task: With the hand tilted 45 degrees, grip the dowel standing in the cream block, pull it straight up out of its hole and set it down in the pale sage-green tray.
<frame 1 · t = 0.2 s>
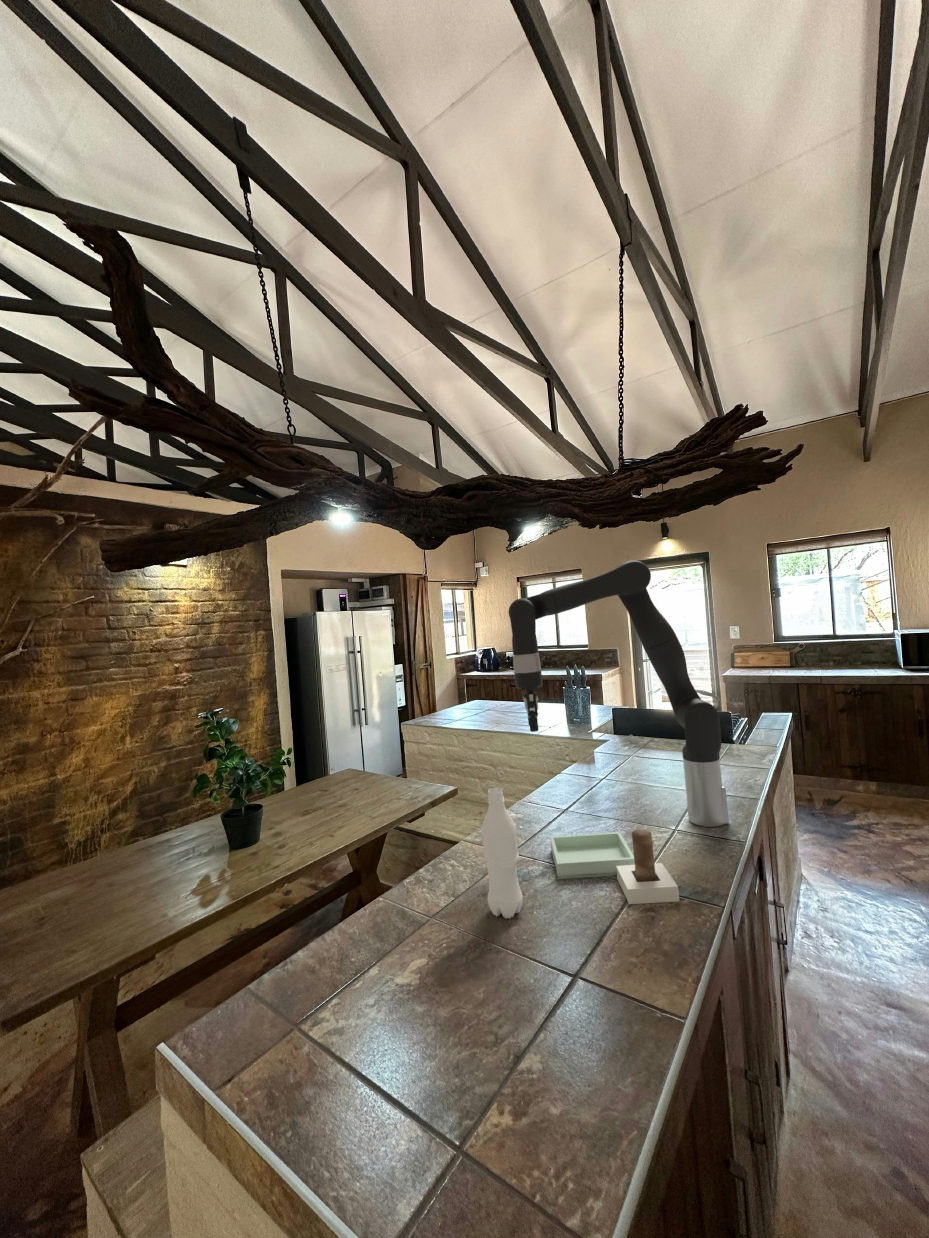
hand: (533, 728, 142), 29 cm above the worktop, tool pointing down, fingers open, 8 cm apart
water bottle: (506, 912, 105), on the worktop
dowel: (644, 861, 108), in the dowel block
tray: (591, 861, 123), on the worktop
dowel block: (646, 889, 108), on the worktop
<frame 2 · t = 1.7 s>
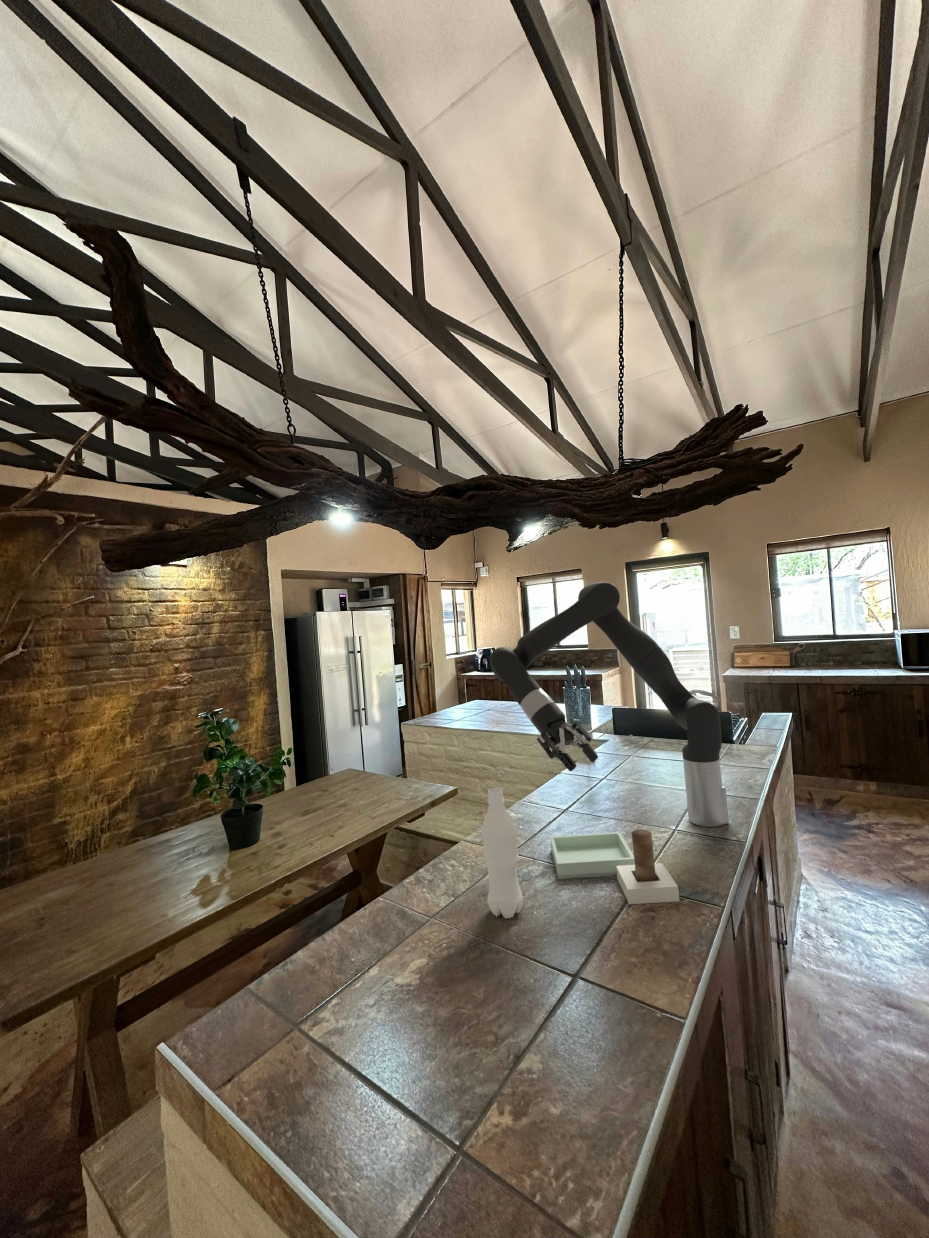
hand: (584, 764, 118), 25 cm above the worktop, tool tilted 45°, fingers open, 8 cm apart
nothing on the worktop moved.
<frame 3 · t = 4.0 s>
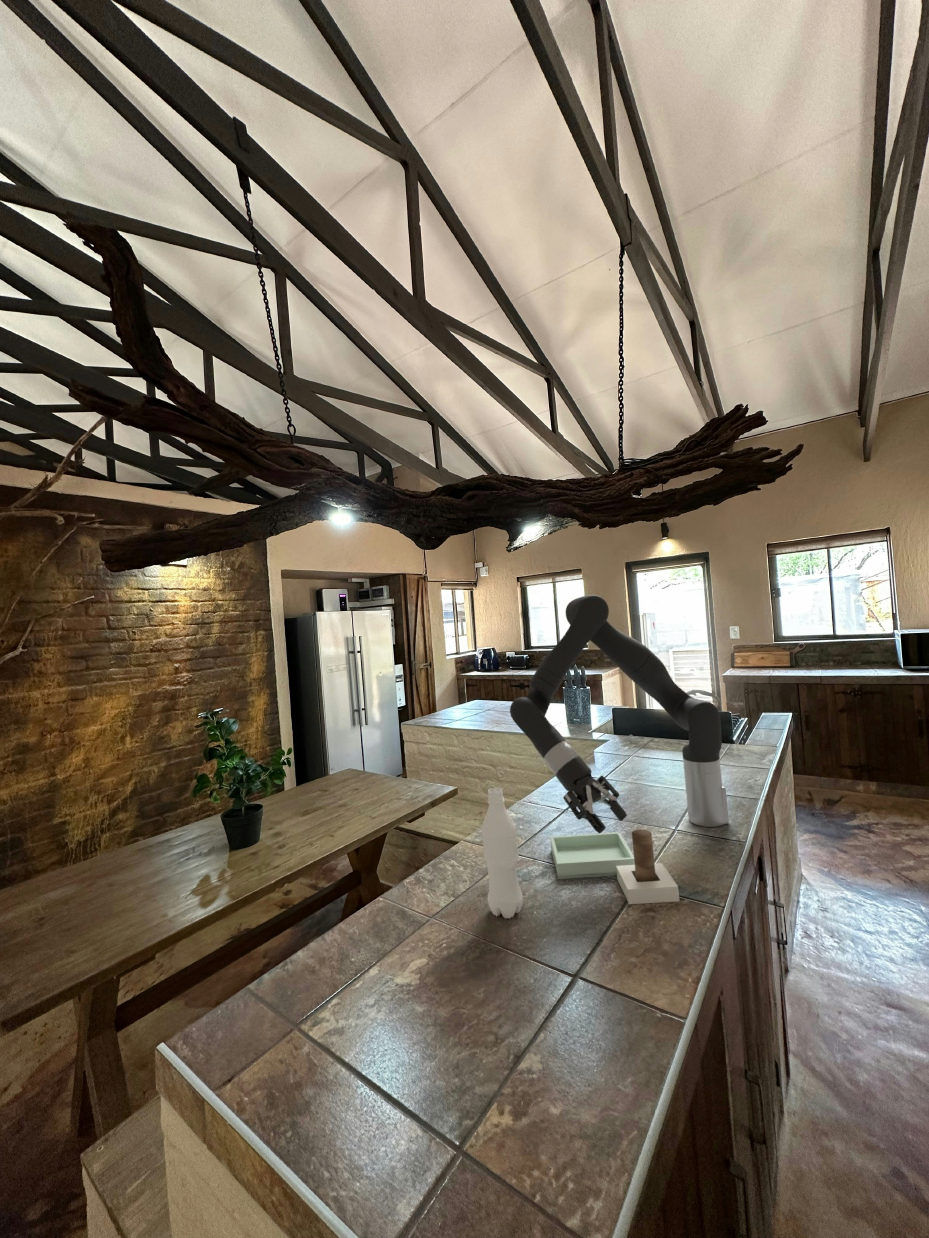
hand: (613, 824, 113), 12 cm above the worktop, tool tilted 45°, fingers open, 8 cm apart
nothing on the worktop moved.
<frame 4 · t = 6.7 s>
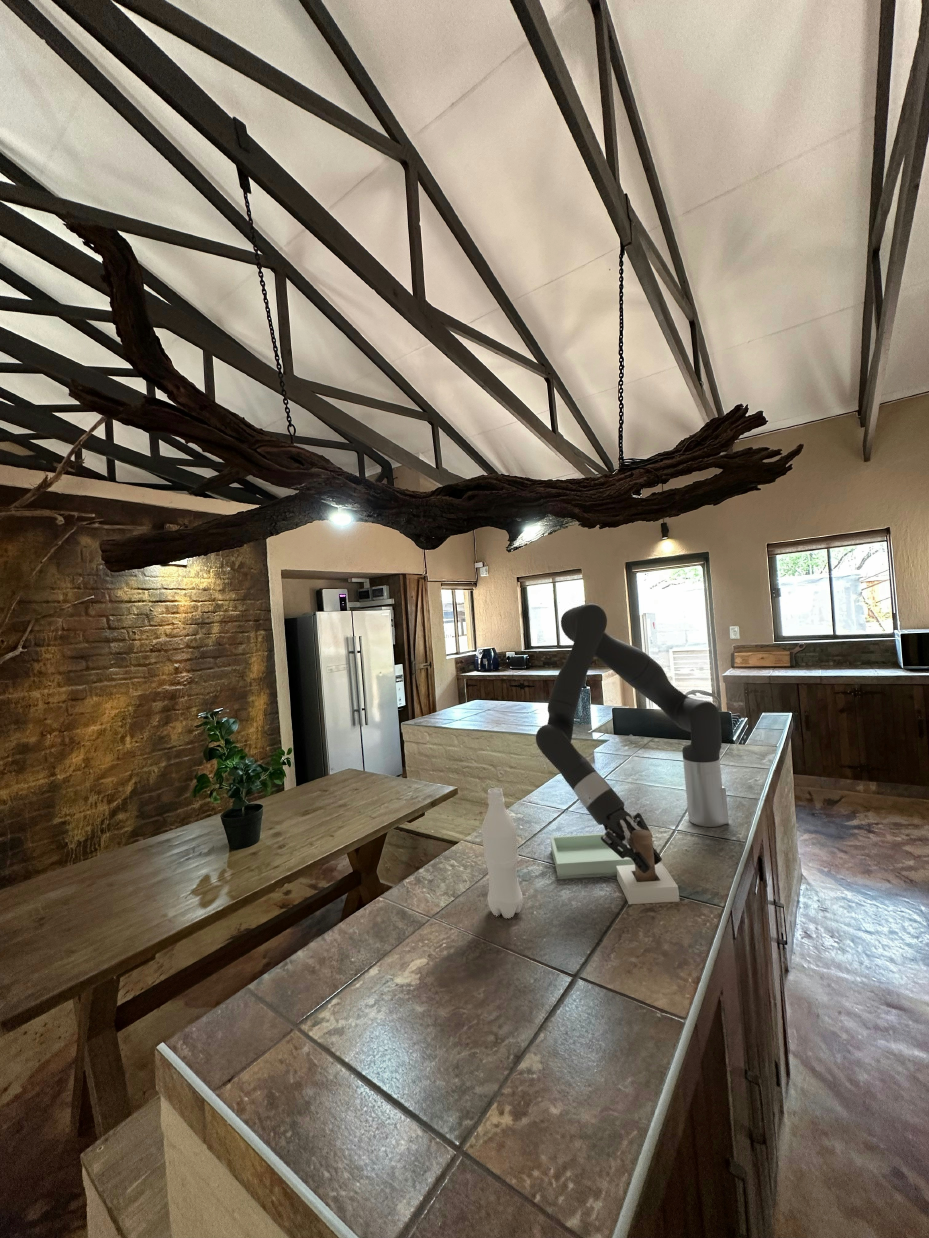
hand: (653, 866, 107), 6 cm above the worktop, tool tilted 45°, fingers closed on dowel, 4 cm apart
dowel: (644, 861, 108), in the dowel block, touching gripper
everything else where it was.
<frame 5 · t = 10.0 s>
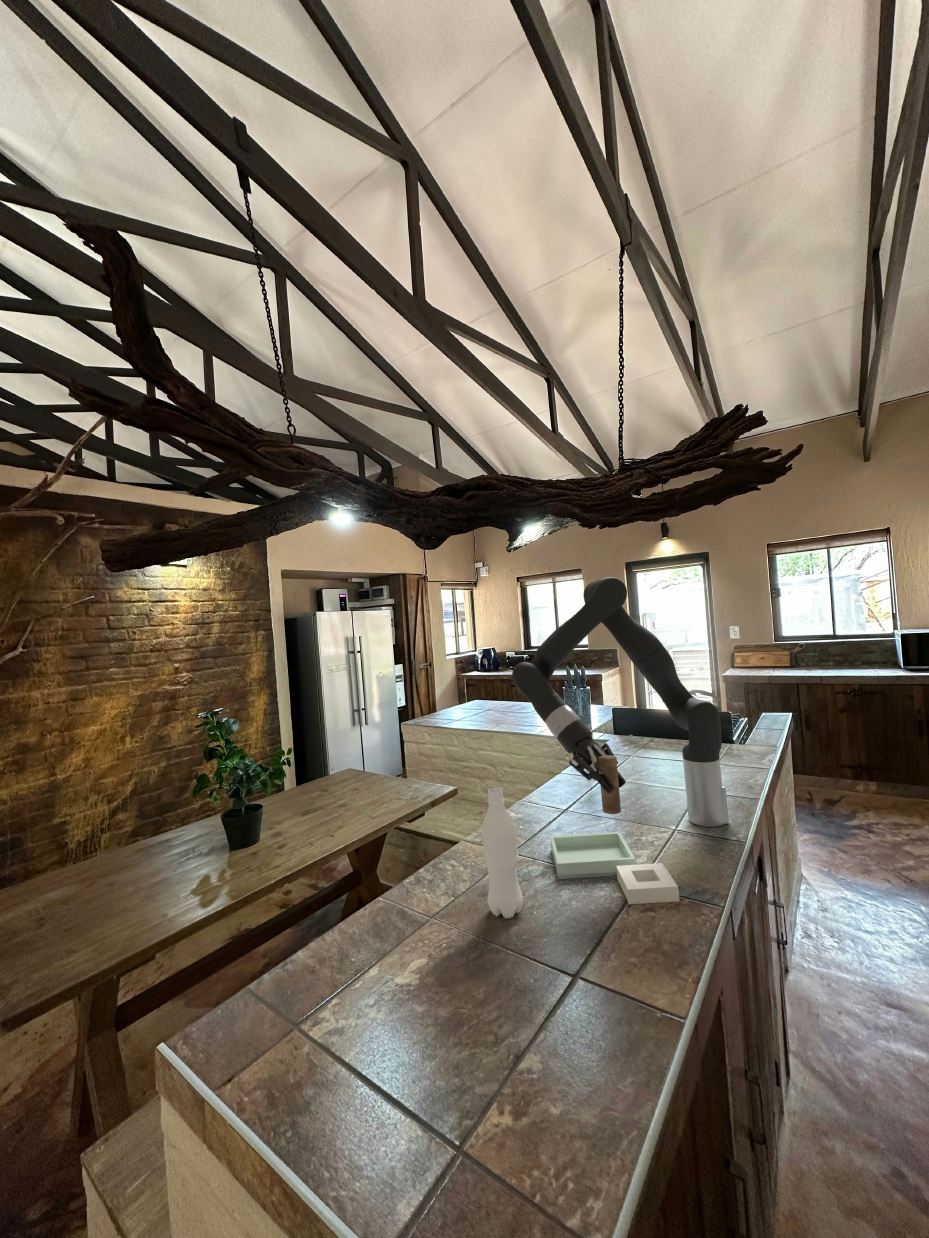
hand: (617, 787, 114), 20 cm above the worktop, tool tilted 45°, fingers closed on dowel, 4 cm apart
dowel: (609, 784, 115), point 21 cm above the worktop, touching gripper
everything else where it was.
when the fingers open (8 cm above the worktop, at t = 13.4 s): dowel drops 1 cm, resting on tray.
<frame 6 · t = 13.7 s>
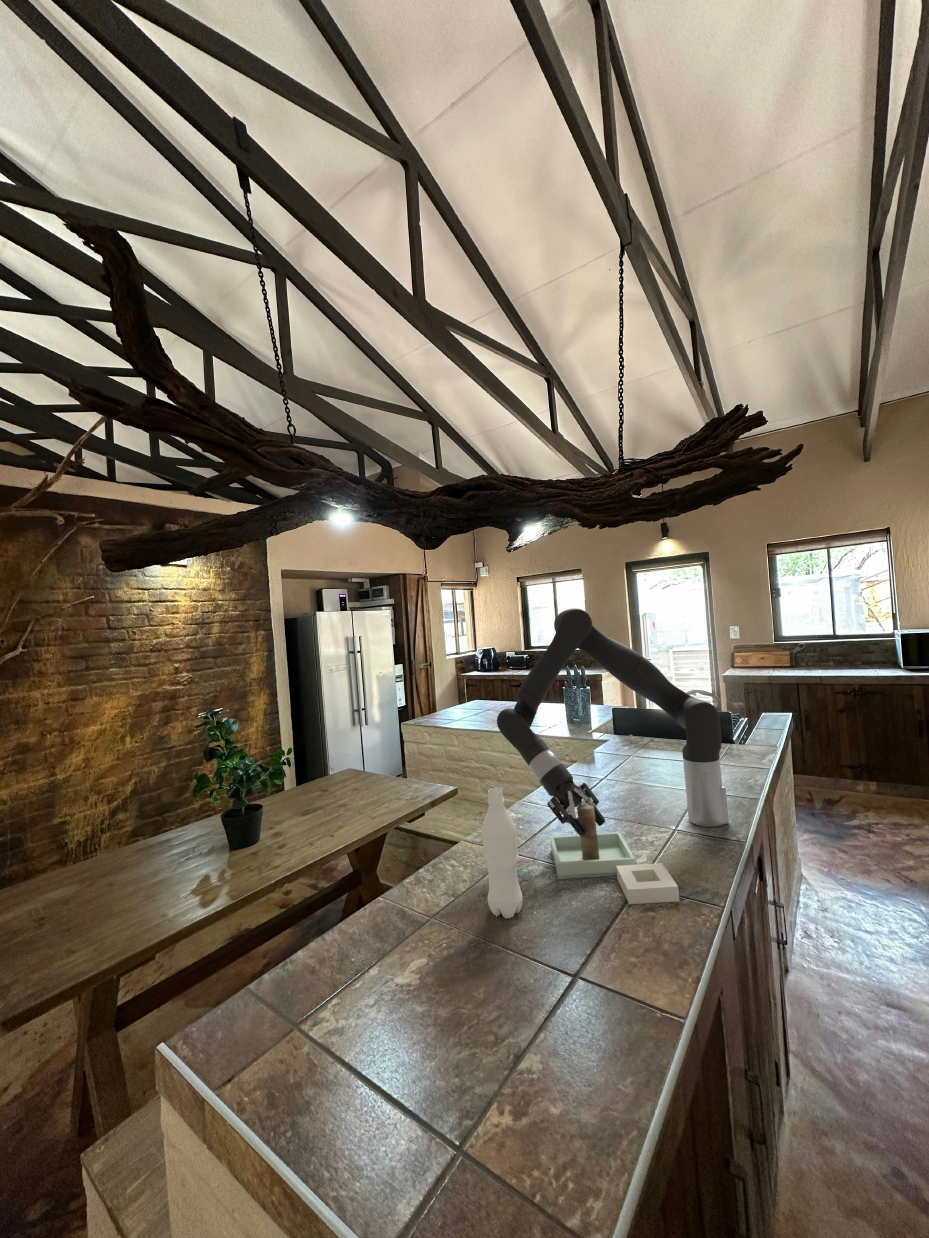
hand: (593, 828, 122), 8 cm above the worktop, tool tilted 45°, fingers open, 7 cm apart
dowel: (588, 832, 123), in the tray, point 7 cm above the worktop
everything else where it was.
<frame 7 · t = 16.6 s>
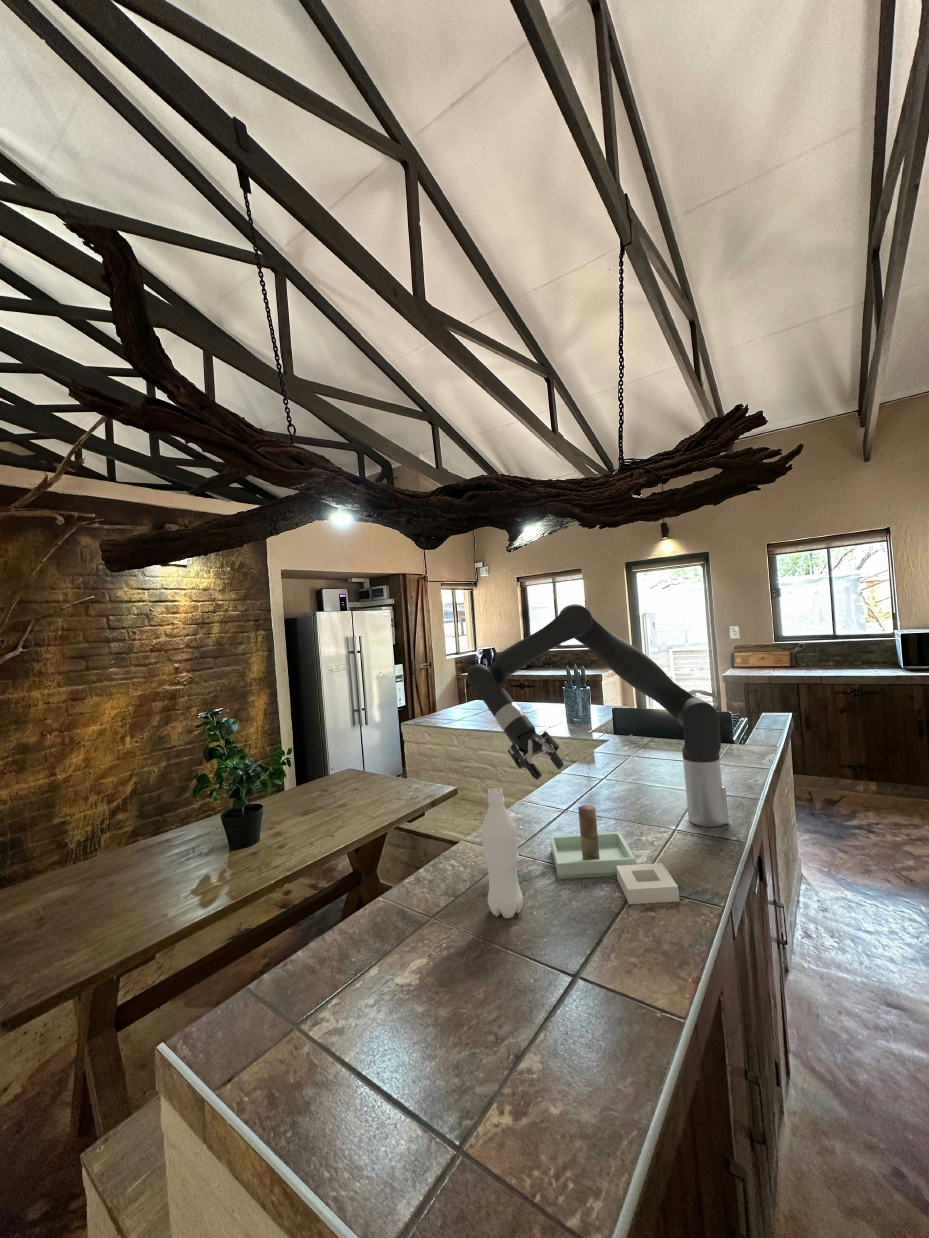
hand: (550, 772, 132), 19 cm above the worktop, tool tilted 45°, fingers open, 8 cm apart
nothing on the worktop moved.
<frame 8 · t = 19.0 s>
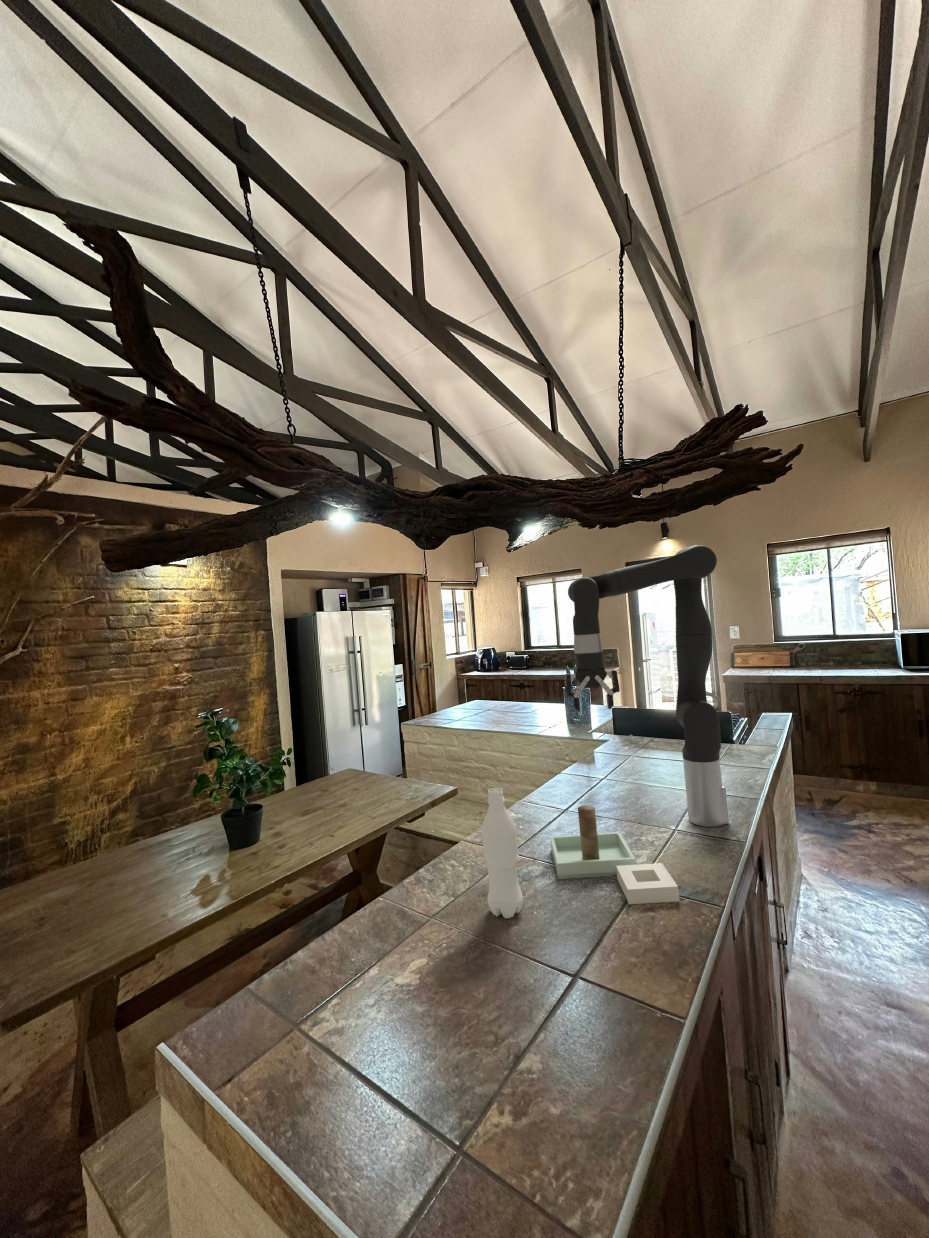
hand: (594, 709, 140), 33 cm above the worktop, tool pointing down, fingers open, 8 cm apart
nothing on the worktop moved.
at the end: dowel inside the target area on the tray (0.1 cm from its centre), point 6.8 cm above the tray's base; the gripper is holding nothing; dowel moved 16.8 cm from its start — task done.
